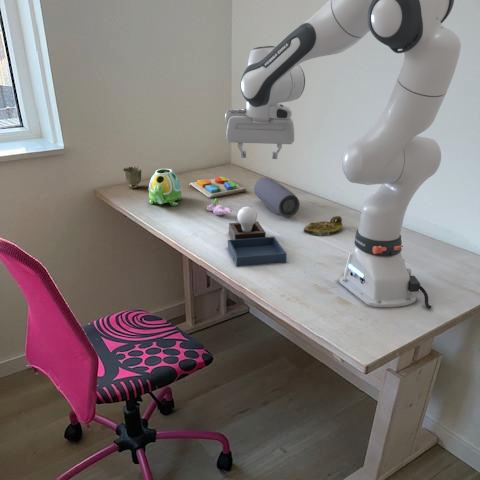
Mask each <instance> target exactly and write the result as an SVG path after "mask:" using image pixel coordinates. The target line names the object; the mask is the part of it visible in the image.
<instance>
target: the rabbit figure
mask: <svg viewBox="0 0 480 480" xmlns="http://www.w3.org/2000/svg"><path fill="white" fill-rule="evenodd" d="M218 203H219V199H218V198H217V197H214V201H213V202H212V203H211V204H209V205H208V204H205V209H206V210H207V211H208V212H212V213H213V214H214V215H217V216H222V215H223V216H224V215H228V213H229V214H230V215H231V214H232V209H231V208H229V207H226V206H225V205H223V204H218Z"/></svg>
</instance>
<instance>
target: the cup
mask: <svg viewBox="0 0 480 480" xmlns="http://www.w3.org/2000/svg"><path fill="white" fill-rule="evenodd" d="M122 171H123V177H124V181H125V183H126V184H128V187H129V189H131V190H135V189H138V188H139V184H140V183H141V181H142V168H141V167H139V166H137V167H136V166H127V167H123V169H122Z"/></svg>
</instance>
